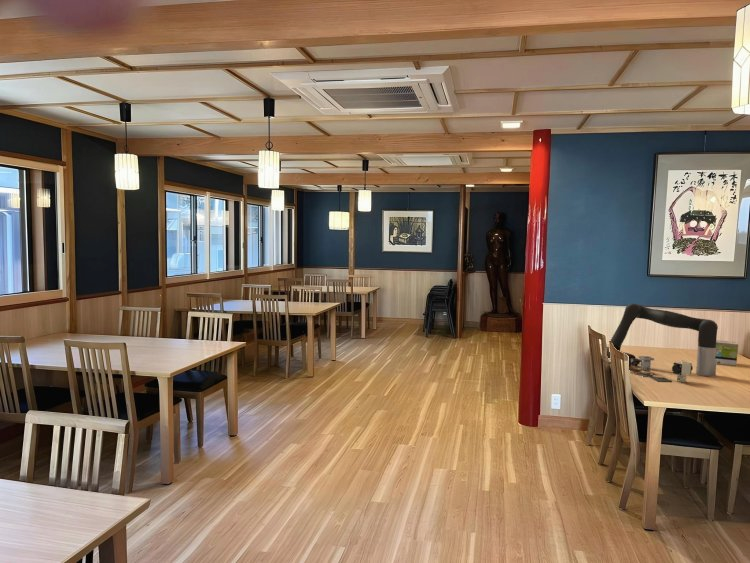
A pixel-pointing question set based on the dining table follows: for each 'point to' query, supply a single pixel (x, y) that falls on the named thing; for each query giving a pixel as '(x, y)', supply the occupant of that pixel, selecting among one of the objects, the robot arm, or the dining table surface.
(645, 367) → the grey column pedestal
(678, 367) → the pneumatic valve
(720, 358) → the tea box
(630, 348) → the dining table surface
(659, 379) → the pad
